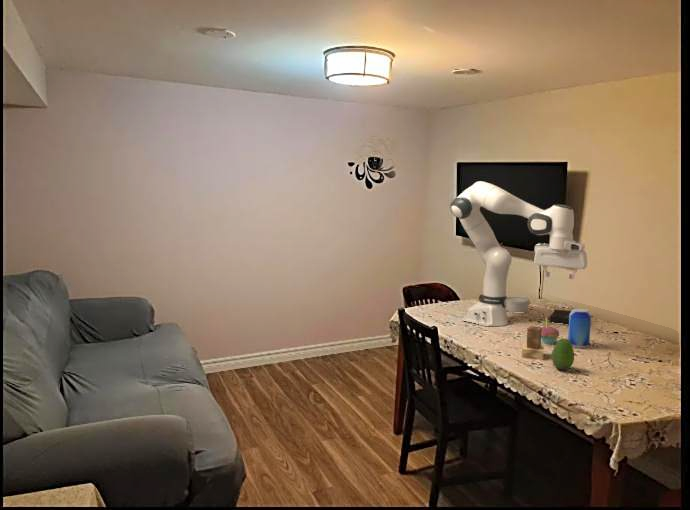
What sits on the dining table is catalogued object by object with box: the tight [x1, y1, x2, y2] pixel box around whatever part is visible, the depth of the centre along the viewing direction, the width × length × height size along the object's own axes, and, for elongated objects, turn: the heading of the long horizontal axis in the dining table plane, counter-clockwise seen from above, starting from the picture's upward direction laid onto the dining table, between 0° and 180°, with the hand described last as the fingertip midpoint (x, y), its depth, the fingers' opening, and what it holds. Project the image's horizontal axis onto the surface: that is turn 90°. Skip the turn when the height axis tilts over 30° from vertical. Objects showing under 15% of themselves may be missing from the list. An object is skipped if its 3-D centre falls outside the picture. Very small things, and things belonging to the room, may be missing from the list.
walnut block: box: [526, 325, 542, 349], centre depth 214 cm, size 4×4×8 cm
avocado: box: [551, 338, 575, 371], centre depth 199 cm, size 8×8×12 cm
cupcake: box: [541, 316, 560, 345], centre depth 232 cm, size 9×8×12 cm
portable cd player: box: [549, 309, 572, 326], centre depth 268 cm, size 16×17×4 cm
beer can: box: [567, 307, 592, 349], centre depth 226 cm, size 8×8×16 cm
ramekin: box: [506, 295, 530, 313], centre depth 289 cm, size 13×13×7 cm
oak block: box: [521, 343, 544, 361], centre depth 215 cm, size 8×8×4 cm
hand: (559, 277), depth 217 cm, fingers open, 8 cm apart
